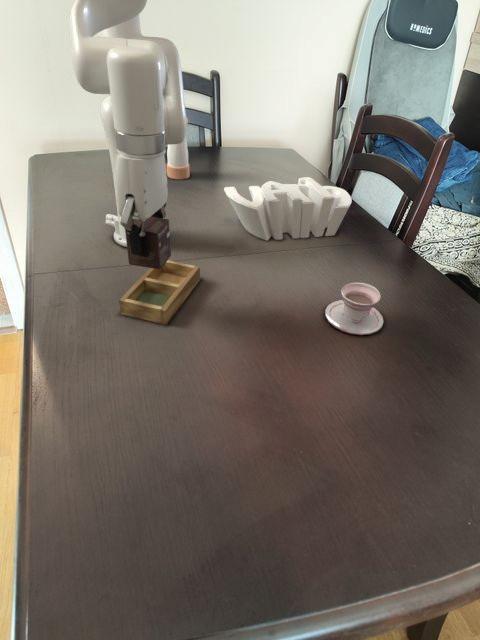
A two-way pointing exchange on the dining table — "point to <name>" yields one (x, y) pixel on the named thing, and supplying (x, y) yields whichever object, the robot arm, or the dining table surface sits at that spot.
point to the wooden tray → (160, 292)
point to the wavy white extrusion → (291, 209)
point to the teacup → (356, 310)
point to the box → (153, 244)
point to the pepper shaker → (178, 160)
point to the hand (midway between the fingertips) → (149, 245)
